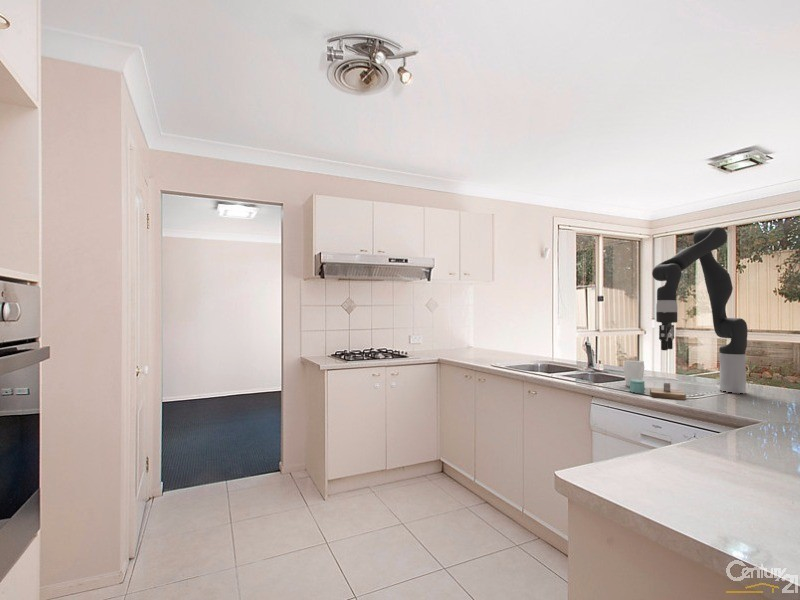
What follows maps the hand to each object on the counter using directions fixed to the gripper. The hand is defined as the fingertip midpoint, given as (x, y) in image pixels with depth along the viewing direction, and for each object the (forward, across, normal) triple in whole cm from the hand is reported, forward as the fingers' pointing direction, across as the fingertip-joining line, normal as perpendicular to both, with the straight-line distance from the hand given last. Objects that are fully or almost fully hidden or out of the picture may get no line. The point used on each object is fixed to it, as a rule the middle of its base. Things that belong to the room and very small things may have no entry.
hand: (666, 349), depth 175 cm
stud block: (+20, -3, -1) cm, 20 cm away
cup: (+20, -20, -18) cm, 34 cm away
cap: (+20, -4, -12) cm, 24 cm away
